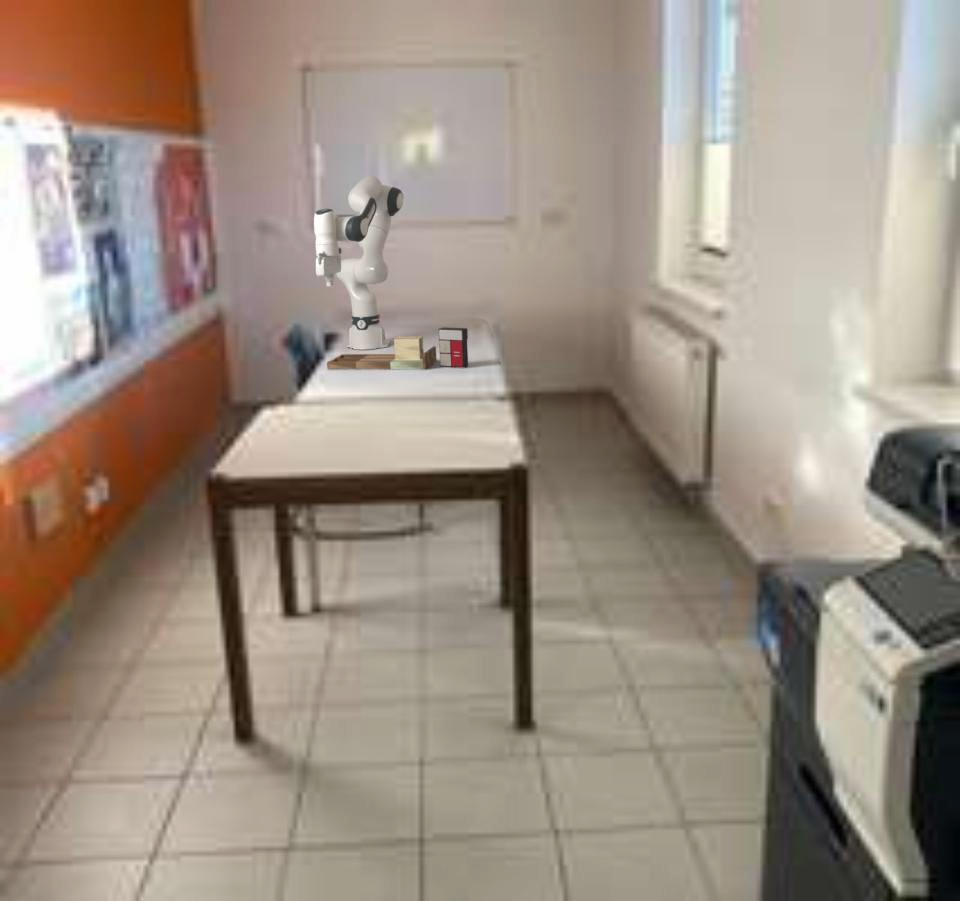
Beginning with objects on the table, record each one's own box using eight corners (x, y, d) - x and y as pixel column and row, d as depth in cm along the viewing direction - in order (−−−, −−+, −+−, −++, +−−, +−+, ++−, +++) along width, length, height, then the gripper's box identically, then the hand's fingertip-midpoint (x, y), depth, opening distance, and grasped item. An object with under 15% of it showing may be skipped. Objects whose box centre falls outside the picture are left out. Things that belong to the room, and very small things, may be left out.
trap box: (342, 361, 408) (341, 347, 407) (436, 361, 400) (435, 346, 399) (327, 369, 391) (326, 354, 390) (425, 369, 383) (424, 354, 382)
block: (399, 356, 396) (398, 336, 394) (423, 356, 394) (422, 336, 392) (395, 359, 390) (394, 339, 388) (419, 359, 388) (418, 339, 386)
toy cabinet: (439, 367, 388) (437, 328, 384) (444, 365, 391) (442, 327, 387) (463, 368, 383) (462, 329, 379) (469, 366, 386) (467, 328, 382)
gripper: (325, 253, 384) (328, 288, 388) (342, 248, 404) (345, 283, 407) (310, 253, 386) (313, 289, 389) (328, 249, 405) (331, 283, 409)
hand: (330, 286), depth 398 cm, fingers closed
